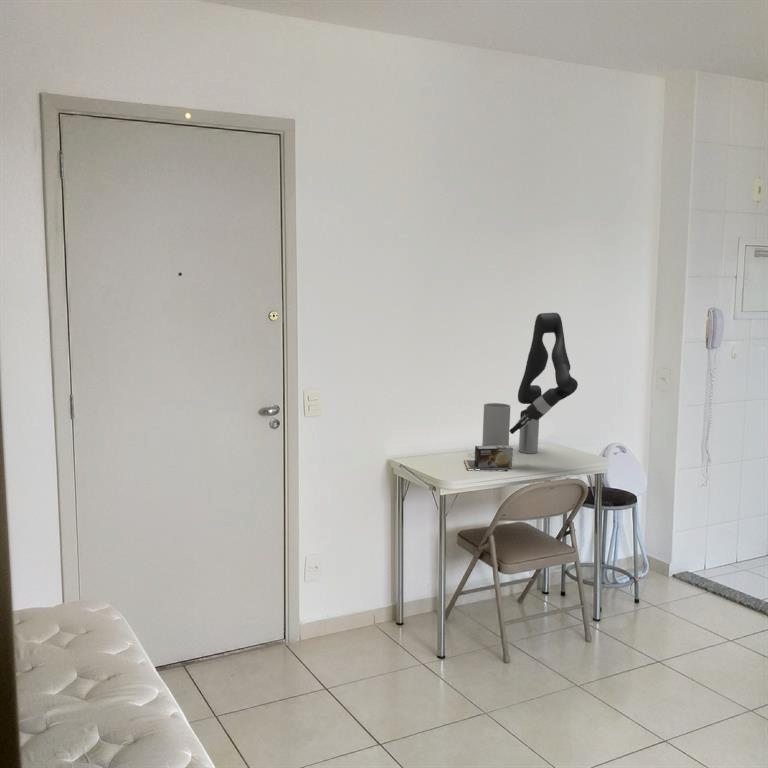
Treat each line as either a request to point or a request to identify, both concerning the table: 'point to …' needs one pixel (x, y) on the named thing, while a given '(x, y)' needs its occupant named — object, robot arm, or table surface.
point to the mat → (471, 466)
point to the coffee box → (493, 456)
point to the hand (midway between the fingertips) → (510, 432)
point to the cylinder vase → (496, 424)
